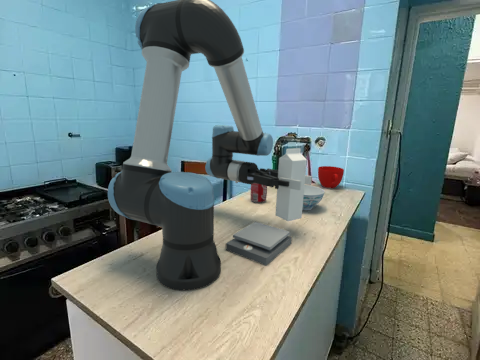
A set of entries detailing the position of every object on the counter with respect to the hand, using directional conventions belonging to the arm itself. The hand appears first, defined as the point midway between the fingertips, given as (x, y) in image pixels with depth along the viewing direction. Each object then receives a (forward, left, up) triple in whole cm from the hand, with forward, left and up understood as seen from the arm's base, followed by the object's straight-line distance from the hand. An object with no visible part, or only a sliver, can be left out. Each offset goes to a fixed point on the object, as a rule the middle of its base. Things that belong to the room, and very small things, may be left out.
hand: (305, 183), depth 81 cm
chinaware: (+26, +10, -18) cm, 33 cm away
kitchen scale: (-13, +7, -17) cm, 23 cm away
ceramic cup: (+64, +11, -18) cm, 67 cm away
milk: (0, +5, -12) cm, 13 cm away
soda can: (+21, +29, -18) cm, 40 cm away
